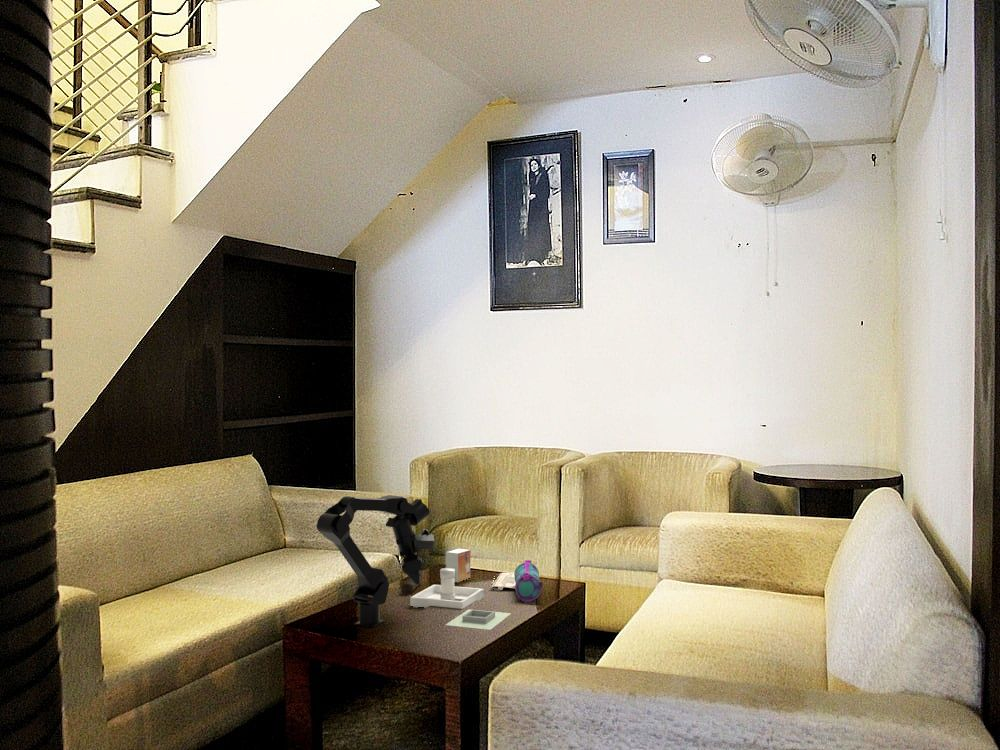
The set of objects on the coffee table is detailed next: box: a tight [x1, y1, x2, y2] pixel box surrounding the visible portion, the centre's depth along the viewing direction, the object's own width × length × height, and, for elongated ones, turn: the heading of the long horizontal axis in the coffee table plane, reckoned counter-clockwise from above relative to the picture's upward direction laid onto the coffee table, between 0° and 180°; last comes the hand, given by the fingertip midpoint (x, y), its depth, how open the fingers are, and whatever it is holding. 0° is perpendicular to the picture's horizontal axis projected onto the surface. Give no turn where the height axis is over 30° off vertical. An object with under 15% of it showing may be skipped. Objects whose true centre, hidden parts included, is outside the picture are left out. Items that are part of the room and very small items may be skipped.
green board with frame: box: [445, 609, 512, 631], centre depth 252 cm, size 18×14×2 cm
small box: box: [445, 548, 471, 583], centre depth 306 cm, size 8×6×10 cm
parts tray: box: [409, 584, 485, 610], centre depth 275 cm, size 18×18×3 cm
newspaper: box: [490, 572, 516, 591], centre depth 300 cm, size 23×12×2 cm, turn 171°
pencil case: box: [513, 559, 544, 603], centre depth 284 cm, size 21×9×10 cm, turn 0°
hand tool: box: [400, 569, 424, 595], centre depth 294 cm, size 19×4×5 cm, turn 168°
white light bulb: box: [439, 567, 456, 601], centre depth 275 cm, size 5×5×10 cm
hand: (416, 577), depth 266 cm, fingers open, 9 cm apart
